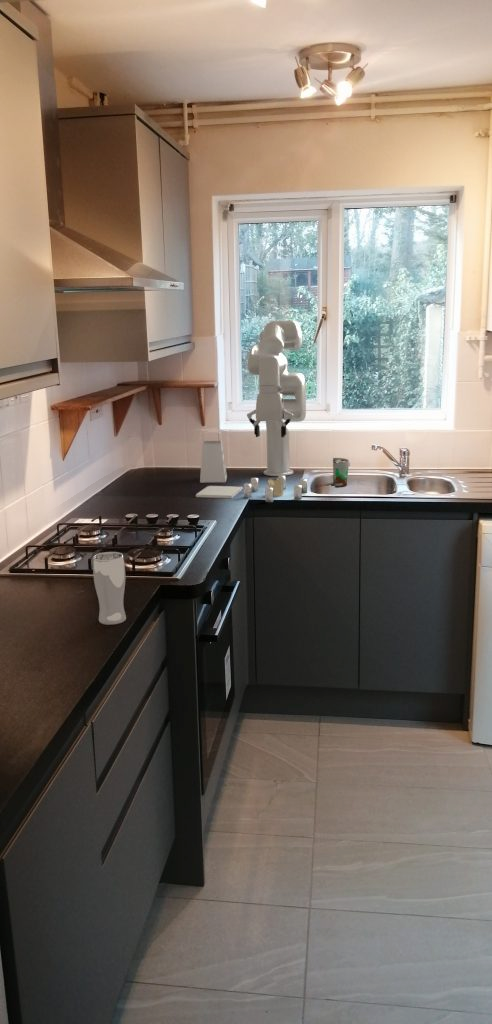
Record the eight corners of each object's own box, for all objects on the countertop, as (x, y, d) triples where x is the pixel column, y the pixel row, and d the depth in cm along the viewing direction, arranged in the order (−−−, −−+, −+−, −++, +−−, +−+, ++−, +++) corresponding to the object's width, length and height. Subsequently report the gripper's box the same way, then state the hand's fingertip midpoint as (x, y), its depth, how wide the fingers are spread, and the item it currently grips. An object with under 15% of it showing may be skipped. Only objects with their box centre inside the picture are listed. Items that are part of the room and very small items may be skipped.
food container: (351, 488, 314) (351, 462, 312) (335, 488, 314) (335, 463, 312) (348, 481, 326) (348, 457, 324) (332, 482, 326) (332, 457, 324)
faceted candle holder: (271, 493, 310) (270, 477, 308) (283, 493, 308) (283, 477, 307) (267, 496, 304) (267, 480, 303) (280, 496, 303) (280, 480, 301)
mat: (208, 488, 321) (208, 485, 321) (242, 489, 317) (242, 486, 317) (195, 497, 306) (195, 494, 306) (231, 498, 302) (231, 495, 302)
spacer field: (255, 487, 321) (255, 474, 319) (310, 488, 315) (310, 476, 314) (239, 501, 297) (238, 487, 296) (298, 503, 292) (297, 489, 291)
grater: (202, 477, 343) (200, 430, 338) (227, 477, 343) (225, 429, 338) (199, 482, 333) (198, 433, 328) (225, 482, 332) (223, 433, 328)
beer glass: (91, 624, 181) (86, 559, 177) (104, 613, 187) (100, 550, 184) (120, 626, 179) (116, 561, 176) (132, 615, 186) (129, 552, 182)
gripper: (294, 389, 298) (295, 435, 301) (249, 389, 302) (250, 435, 306) (290, 390, 291) (291, 438, 294) (243, 390, 295) (245, 437, 299)
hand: (270, 436), depth 300 cm, fingers open, 9 cm apart
